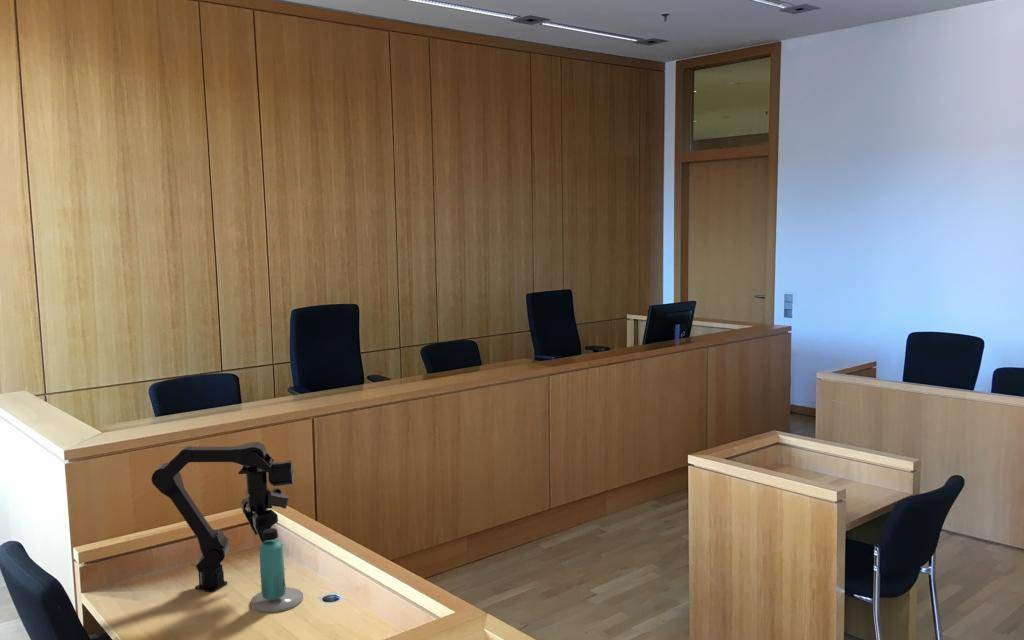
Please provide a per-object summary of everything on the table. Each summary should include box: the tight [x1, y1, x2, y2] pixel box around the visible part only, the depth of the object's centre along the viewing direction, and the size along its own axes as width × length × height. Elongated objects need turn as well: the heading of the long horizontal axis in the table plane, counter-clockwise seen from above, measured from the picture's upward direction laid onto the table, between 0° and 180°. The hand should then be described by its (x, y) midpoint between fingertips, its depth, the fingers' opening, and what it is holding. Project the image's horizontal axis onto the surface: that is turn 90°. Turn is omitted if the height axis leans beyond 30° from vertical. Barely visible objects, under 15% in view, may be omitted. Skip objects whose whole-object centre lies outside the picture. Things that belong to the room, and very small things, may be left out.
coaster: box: [250, 586, 304, 614], centre depth 229 cm, size 14×14×1 cm
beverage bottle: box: [258, 527, 287, 600], centre depth 227 cm, size 6×7×20 cm
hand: (260, 539), depth 240 cm, fingers open, 9 cm apart
